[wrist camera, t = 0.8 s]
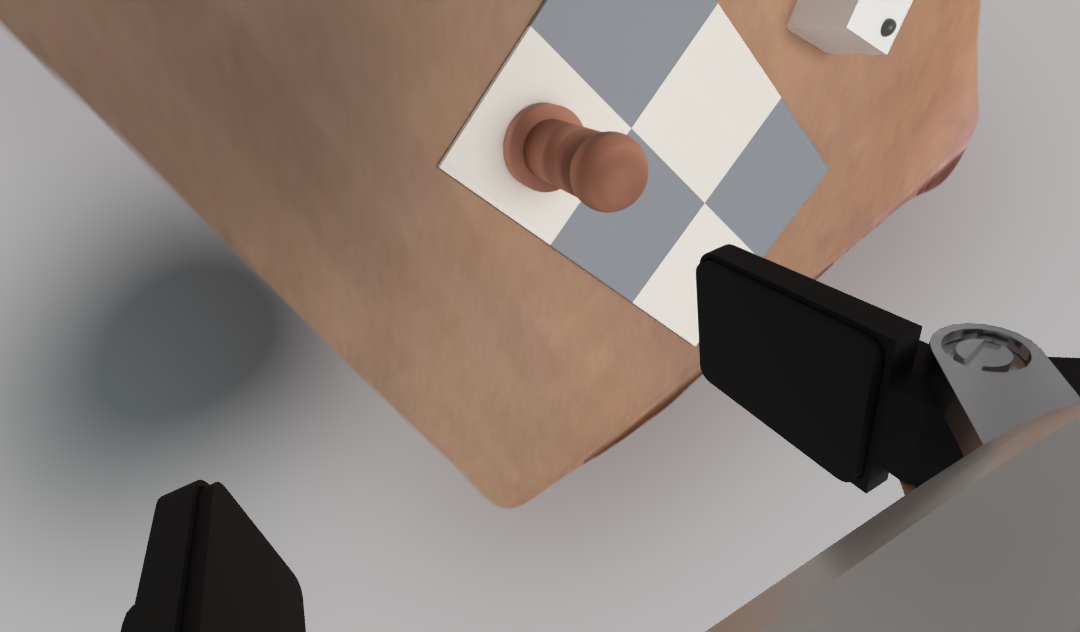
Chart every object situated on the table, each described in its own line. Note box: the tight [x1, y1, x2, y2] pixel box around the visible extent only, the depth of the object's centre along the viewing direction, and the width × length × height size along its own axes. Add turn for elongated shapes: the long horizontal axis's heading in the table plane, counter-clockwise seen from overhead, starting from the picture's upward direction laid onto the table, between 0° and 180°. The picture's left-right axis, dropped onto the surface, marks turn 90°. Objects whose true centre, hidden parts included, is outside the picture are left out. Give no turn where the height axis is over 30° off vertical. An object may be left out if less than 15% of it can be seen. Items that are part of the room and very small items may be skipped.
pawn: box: [503, 103, 649, 213], centre depth 30 cm, size 5×5×10 cm
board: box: [438, 0, 829, 346], centre depth 39 cm, size 19×28×1 cm, turn 51°
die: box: [786, 0, 913, 55], centre depth 36 cm, size 5×5×6 cm
